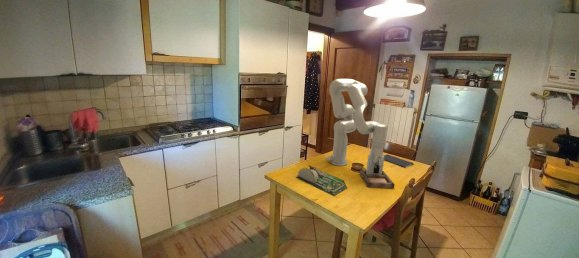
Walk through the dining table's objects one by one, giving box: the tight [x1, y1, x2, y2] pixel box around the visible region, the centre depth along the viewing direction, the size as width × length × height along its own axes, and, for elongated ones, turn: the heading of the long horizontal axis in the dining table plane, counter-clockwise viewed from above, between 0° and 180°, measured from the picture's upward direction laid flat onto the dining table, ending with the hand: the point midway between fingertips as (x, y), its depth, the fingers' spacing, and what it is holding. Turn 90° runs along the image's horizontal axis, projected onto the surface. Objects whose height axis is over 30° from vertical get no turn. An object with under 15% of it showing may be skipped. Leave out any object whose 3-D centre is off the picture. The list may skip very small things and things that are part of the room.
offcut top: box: [368, 178, 387, 183], centre depth 144 cm, size 10×7×2 cm
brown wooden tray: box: [359, 169, 396, 189], centre depth 147 cm, size 15×18×4 cm
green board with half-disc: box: [295, 164, 348, 197], centre depth 146 cm, size 33×8×20 cm
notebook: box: [383, 153, 414, 169], centre depth 182 cm, size 13×2×21 cm
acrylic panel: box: [365, 154, 385, 175], centre depth 150 cm, size 9×3×15 cm, turn 89°
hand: (374, 170), depth 151 cm, fingers open, 6 cm apart
